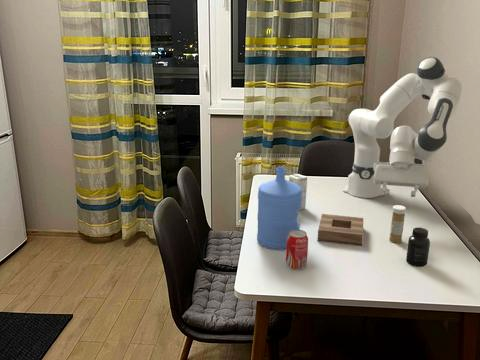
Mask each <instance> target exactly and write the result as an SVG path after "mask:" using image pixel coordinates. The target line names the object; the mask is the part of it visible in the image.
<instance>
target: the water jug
mask: <svg viewBox="0 0 480 360" xmlns="http://www.w3.org/2000/svg"><path fill="white" fill-rule="evenodd" d="M275 169H276V172H275V175H276V177H275V179H272V180H269V181H265V182H263V183H261V184H260V185H259V186H258V191H257V203H258V204H257V233H256V240H257V243H258V244H260V246H262V247H264V248H266V249H270V250H277V251H284V250H285V251H286V242H287V236H288V235H289V232H290V231H291V230H301V225H300V222H299V220H298V212H299V211H300V210H299V209H300V208H301V200H302V189H301V187H300V186H299V185H297V184H295V183H292V182H290V181H289V180H288V179H286V167H282V166H281V167H276V168H275Z"/></svg>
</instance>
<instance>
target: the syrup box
mask: <svg viewBox="0 0 480 360" xmlns="http://www.w3.org/2000/svg"><path fill="white" fill-rule="evenodd" d="M288 177H289V179H288V181H290V182H292V183H295V184H297V185H299V186H300V187H301V189H302V200H301V208H300V209H299V210H298V211H300V210H303V209H306V207H307V206H306V205H307V203H306V202H307V189H308V176H306V175H302V174H299V173H294V174H291V175H289V176H288Z"/></svg>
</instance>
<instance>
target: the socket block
mask: <svg viewBox="0 0 480 360" xmlns="http://www.w3.org/2000/svg"><path fill="white" fill-rule="evenodd" d="M363 239H364V217H359V216H358V217H357V216H347V215H338V214H337V215H336V214H330V213H329V214H327V213H322V214H321V217H320V221H319V225H318V229H317V240H316V241H317V242H321V243H330V244H331V243H332V244H340V245H349V246H356V247H357V246H358V247H363Z"/></svg>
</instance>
